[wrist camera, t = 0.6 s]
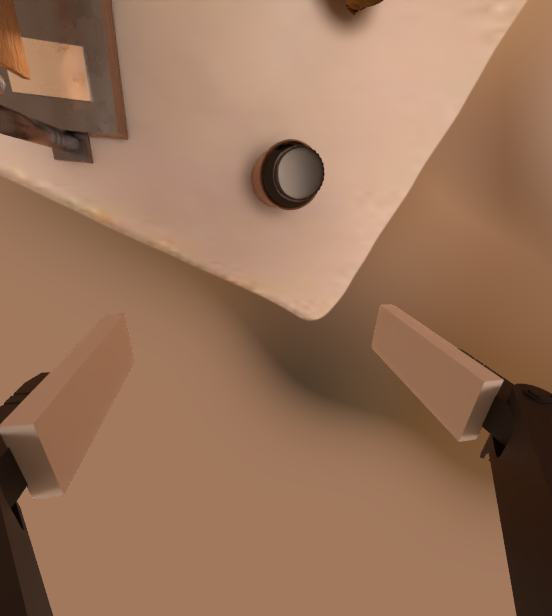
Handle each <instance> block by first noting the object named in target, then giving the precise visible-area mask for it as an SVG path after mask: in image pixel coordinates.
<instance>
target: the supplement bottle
mask: <svg viewBox="0 0 552 616" xmlns="http://www.w3.org/2000/svg"><path fill="white" fill-rule="evenodd" d="M324 175H325V174H324V167H323V162H322V159H321V158H320V157H319V154H318V153H316V151H315V150H313V149H312V148H311V147H310V146H309V145H307V144H306V143H304V142H302V141H299V140H294V139H288V140H283V141H281V142H278V143H276V144H275V145H273V146H272V147H271V148H270V149H269V150H268V151H266V152H265V153H264V154H263V155H262V156H261V157H260V158H259V159H258V161H257V162H256V164H255V166H254V169H253V173H252V184H253V188H254V191H255V193H256V195H257V196H258V198H259V199H260V200H261V201H262V202H264V203H265V204H267V205H269V206H272V207H276V208H280V209H284V210H296V209H299V208H302V207H304V206H306V205H307V204H308V203H310V202H311V201H312V200H313V198H314V197H315V196H316V194H317V192H318V190H320V187H321V186H322V182H323V180H324Z"/></svg>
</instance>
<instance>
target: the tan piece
mask: <svg viewBox="0 0 552 616" xmlns="http://www.w3.org/2000/svg"><path fill="white" fill-rule="evenodd" d="M0 66H2V67H3V68H5V69H7V70H9V71H10V72H12V73H14V74H15V75H17V76H19V77H21V78H22V79H28V80H31V78H30V73H29V69H28V65H27V60H26V56H25V51H24V47H23V42H22V38H21V33H20V29H19V25H18V20H17V16H16V11H15V7H14V2H13V0H0ZM5 88H6V86H5V81H4V79H3V77H2V76H1V74H0V95H2V94H3V95H4V92H5Z"/></svg>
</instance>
